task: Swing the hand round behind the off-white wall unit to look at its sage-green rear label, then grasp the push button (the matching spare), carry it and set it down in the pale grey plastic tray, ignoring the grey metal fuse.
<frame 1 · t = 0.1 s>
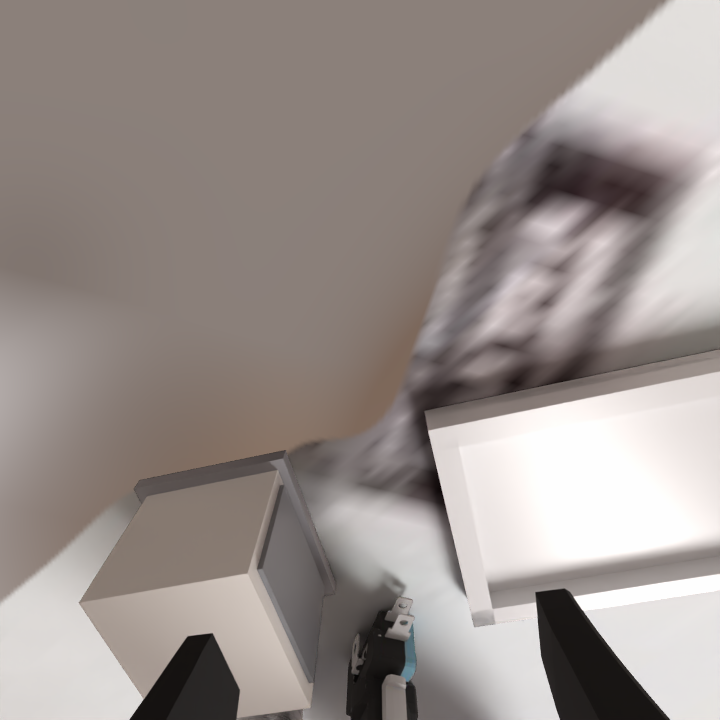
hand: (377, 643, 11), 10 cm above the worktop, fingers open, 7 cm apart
tray: (597, 487, 21), on the worktop
push button: (386, 629, 26), on the worktop
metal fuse: (270, 676, 27), on the worktop
wall unit: (242, 534, 23), on the worktop
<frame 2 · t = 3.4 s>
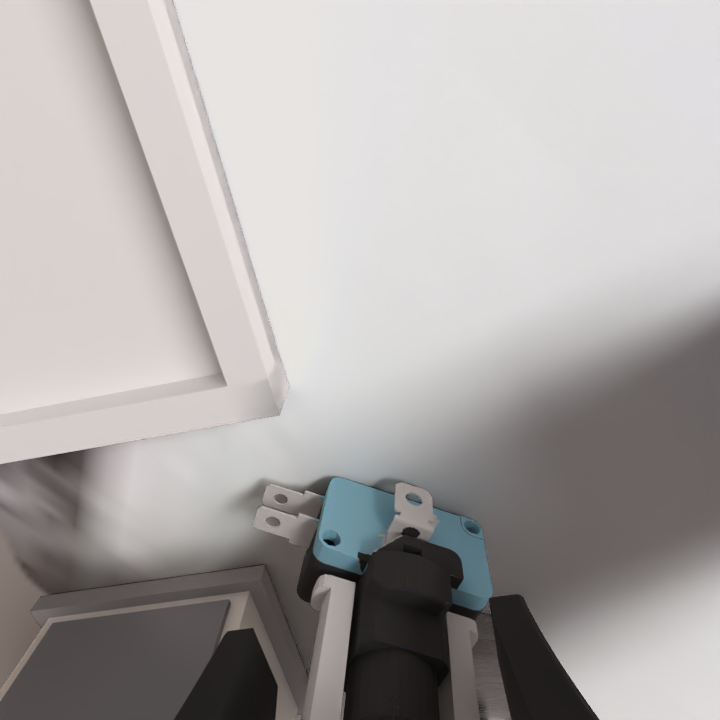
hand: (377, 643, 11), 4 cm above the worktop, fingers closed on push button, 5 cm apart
push button: (376, 507, 15), on the worktop, touching gripper
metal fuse: (469, 652, 17), on the worktop
wall unit: (185, 648, 18), on the worktop
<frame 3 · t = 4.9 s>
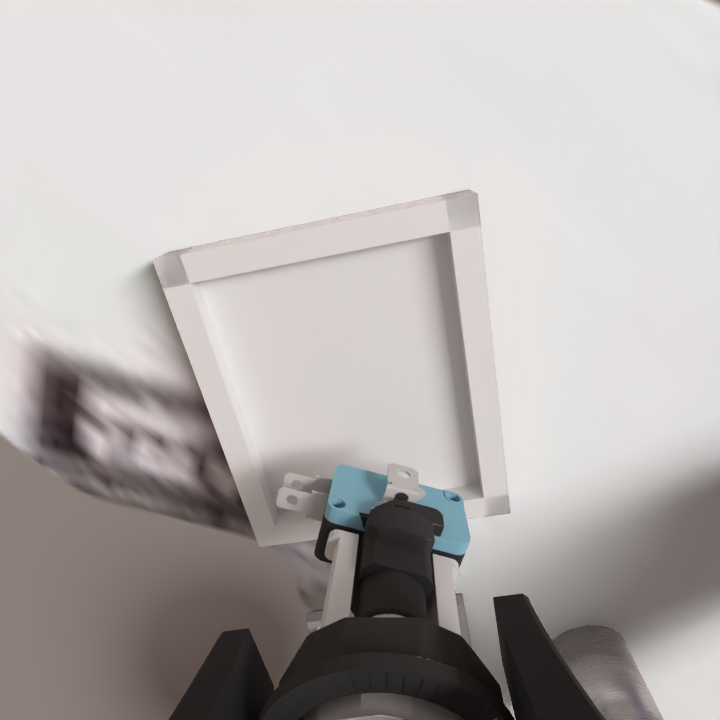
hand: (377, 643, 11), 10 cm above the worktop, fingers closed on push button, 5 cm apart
tray: (351, 382, 20), on the worktop
push button: (375, 490, 18), point 3 cm above the worktop, touching gripper
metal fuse: (586, 652, 26), on the worktop
wall unit: (394, 647, 26), on the worktop
when the fingers open (6 cm above the worktop, at t = 6.4 s): push button stays where it is, resting on tray.
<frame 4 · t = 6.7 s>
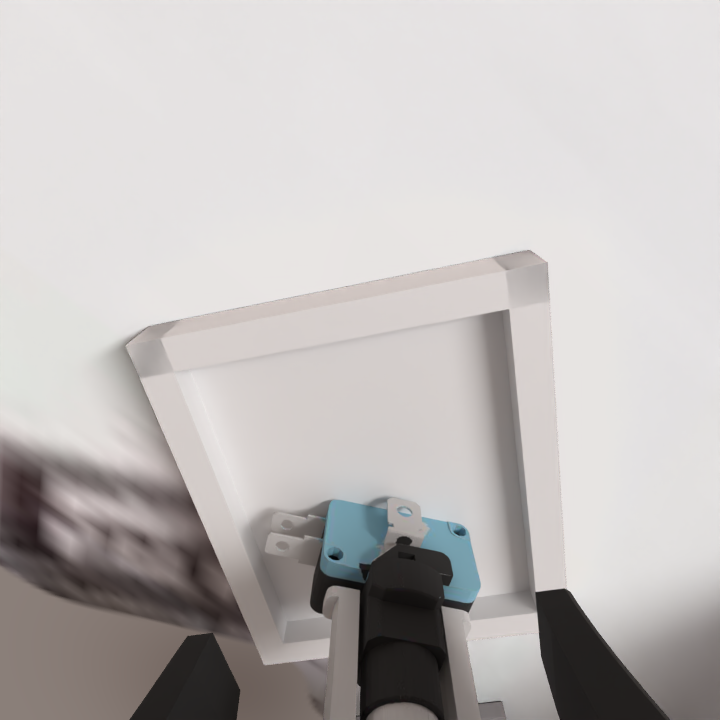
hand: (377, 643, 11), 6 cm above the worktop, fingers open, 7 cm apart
tray: (376, 475, 16), on the worktop
push button: (373, 522, 17), resting on tray
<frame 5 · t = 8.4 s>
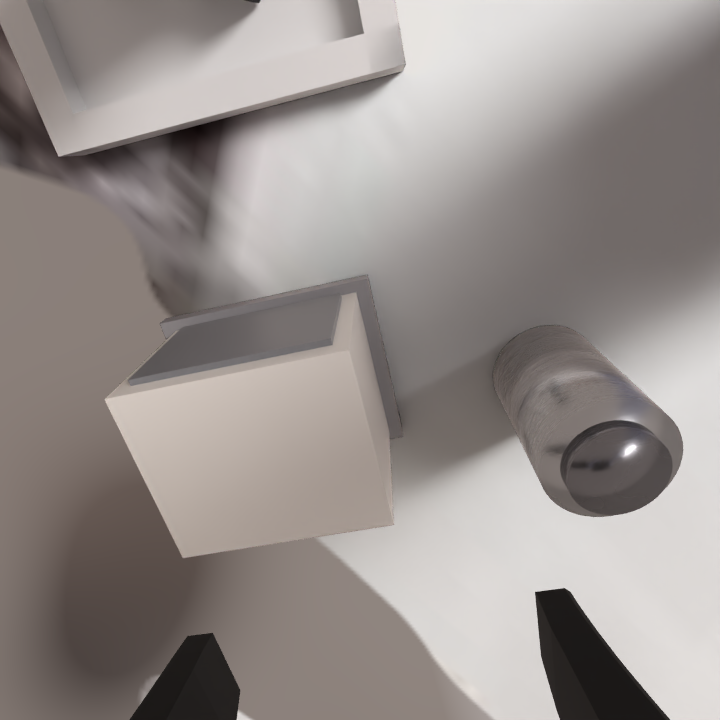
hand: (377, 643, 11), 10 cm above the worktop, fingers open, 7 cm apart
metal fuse: (543, 372, 20), on the worktop
wall unit: (289, 376, 20), on the worktop
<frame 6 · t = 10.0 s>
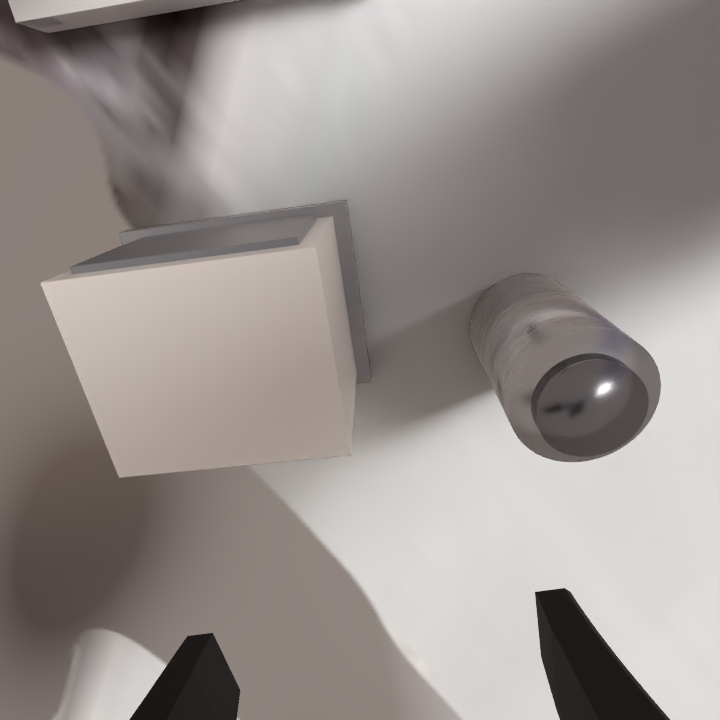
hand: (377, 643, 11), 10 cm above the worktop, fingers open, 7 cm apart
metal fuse: (522, 325, 19), on the worktop
wall unit: (255, 306, 19), on the worktop
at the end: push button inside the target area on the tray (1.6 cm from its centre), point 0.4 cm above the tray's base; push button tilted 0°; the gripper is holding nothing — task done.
